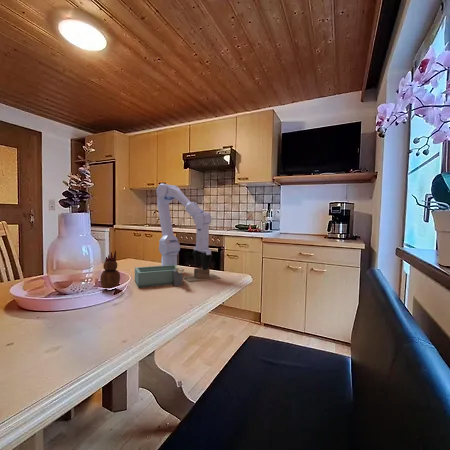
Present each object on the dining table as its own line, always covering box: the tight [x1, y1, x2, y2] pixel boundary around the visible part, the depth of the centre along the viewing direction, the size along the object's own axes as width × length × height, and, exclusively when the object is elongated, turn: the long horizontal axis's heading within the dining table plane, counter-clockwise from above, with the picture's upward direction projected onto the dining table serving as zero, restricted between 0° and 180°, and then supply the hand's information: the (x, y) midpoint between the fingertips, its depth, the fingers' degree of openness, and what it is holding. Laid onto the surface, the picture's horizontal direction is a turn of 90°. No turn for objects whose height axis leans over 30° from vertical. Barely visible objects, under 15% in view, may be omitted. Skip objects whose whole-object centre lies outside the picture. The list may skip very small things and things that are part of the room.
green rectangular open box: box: [134, 264, 183, 289], centre depth 110 cm, size 14×18×6 cm
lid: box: [182, 267, 221, 283], centre depth 120 cm, size 8×15×5 cm, turn 119°
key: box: [175, 265, 185, 274], centre depth 105 cm, size 6×2×2 cm, turn 26°
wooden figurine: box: [99, 250, 121, 289], centre depth 99 cm, size 7×6×15 cm
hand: (201, 267), depth 120 cm, fingers open, 7 cm apart
